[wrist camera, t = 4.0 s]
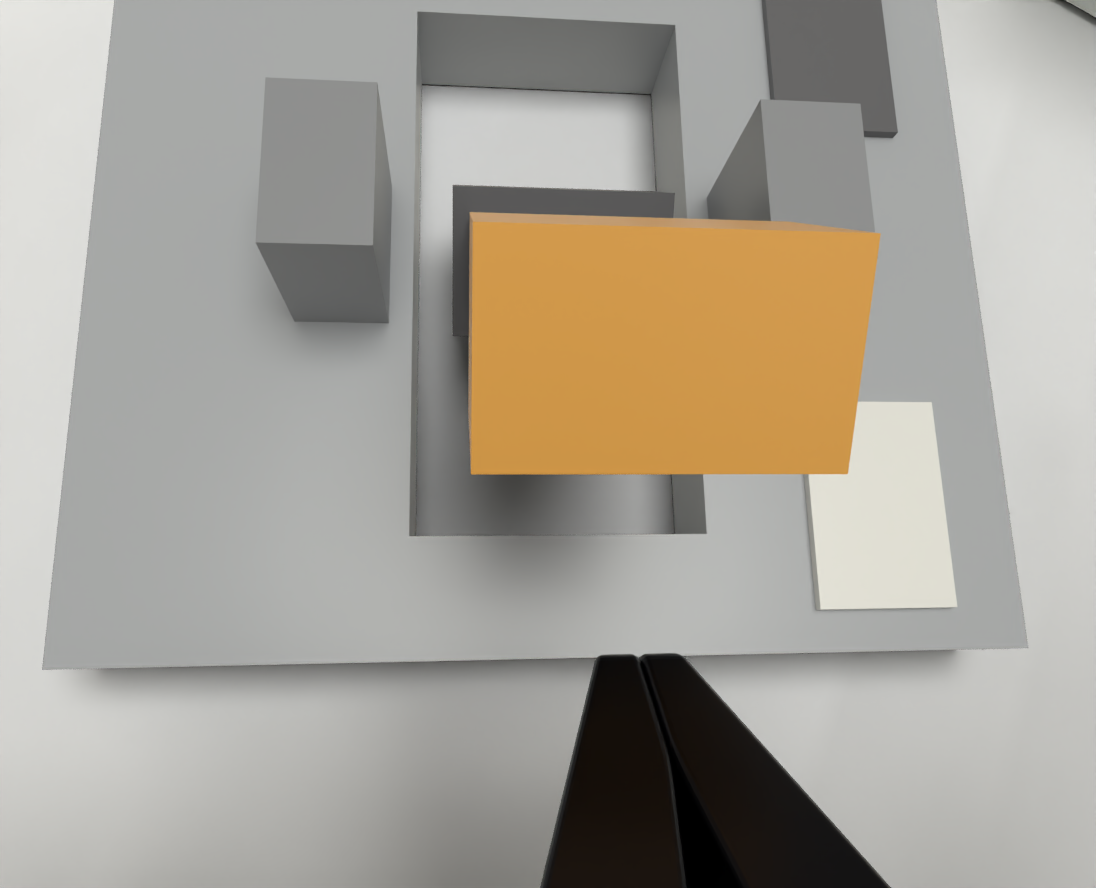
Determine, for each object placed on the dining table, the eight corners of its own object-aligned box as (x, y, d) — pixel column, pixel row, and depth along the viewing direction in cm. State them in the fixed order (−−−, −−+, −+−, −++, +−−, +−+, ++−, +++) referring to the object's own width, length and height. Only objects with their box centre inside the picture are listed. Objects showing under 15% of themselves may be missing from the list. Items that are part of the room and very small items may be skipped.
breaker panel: (957, 648, 17) (1165, 647, 12) (99, 667, 16) (-74, 674, 10) (880, 28, 20) (1019, -178, 15) (162, -11, 19) (54, -255, 14)
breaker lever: (641, 320, 17) (866, 496, 8) (453, 317, 17) (445, 497, 7) (649, 191, 16) (908, 207, 7) (453, 184, 16) (445, 192, 7)
